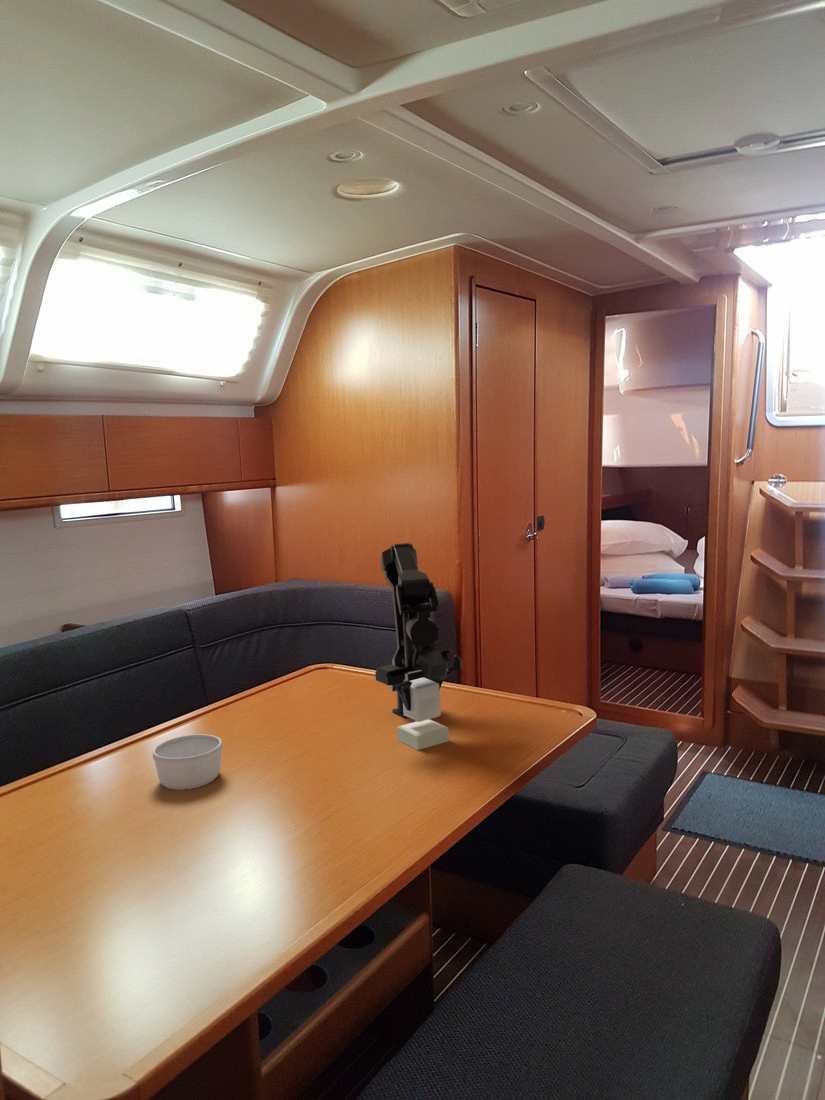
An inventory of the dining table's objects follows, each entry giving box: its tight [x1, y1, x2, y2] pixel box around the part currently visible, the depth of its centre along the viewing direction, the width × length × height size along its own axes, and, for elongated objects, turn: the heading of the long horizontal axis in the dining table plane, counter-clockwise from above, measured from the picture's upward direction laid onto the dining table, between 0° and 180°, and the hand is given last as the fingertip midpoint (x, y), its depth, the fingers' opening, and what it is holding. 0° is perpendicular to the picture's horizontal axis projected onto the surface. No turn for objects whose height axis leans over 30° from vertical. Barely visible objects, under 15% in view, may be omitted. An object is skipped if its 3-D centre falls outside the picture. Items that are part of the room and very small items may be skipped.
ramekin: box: [152, 733, 223, 791], centre depth 151 cm, size 13×13×7 cm
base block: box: [396, 719, 450, 751], centre depth 165 cm, size 8×8×3 cm
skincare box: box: [403, 678, 442, 722], centre depth 164 cm, size 6×6×7 cm
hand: (421, 707), depth 165 cm, fingers closed on skincare box, 6 cm apart
